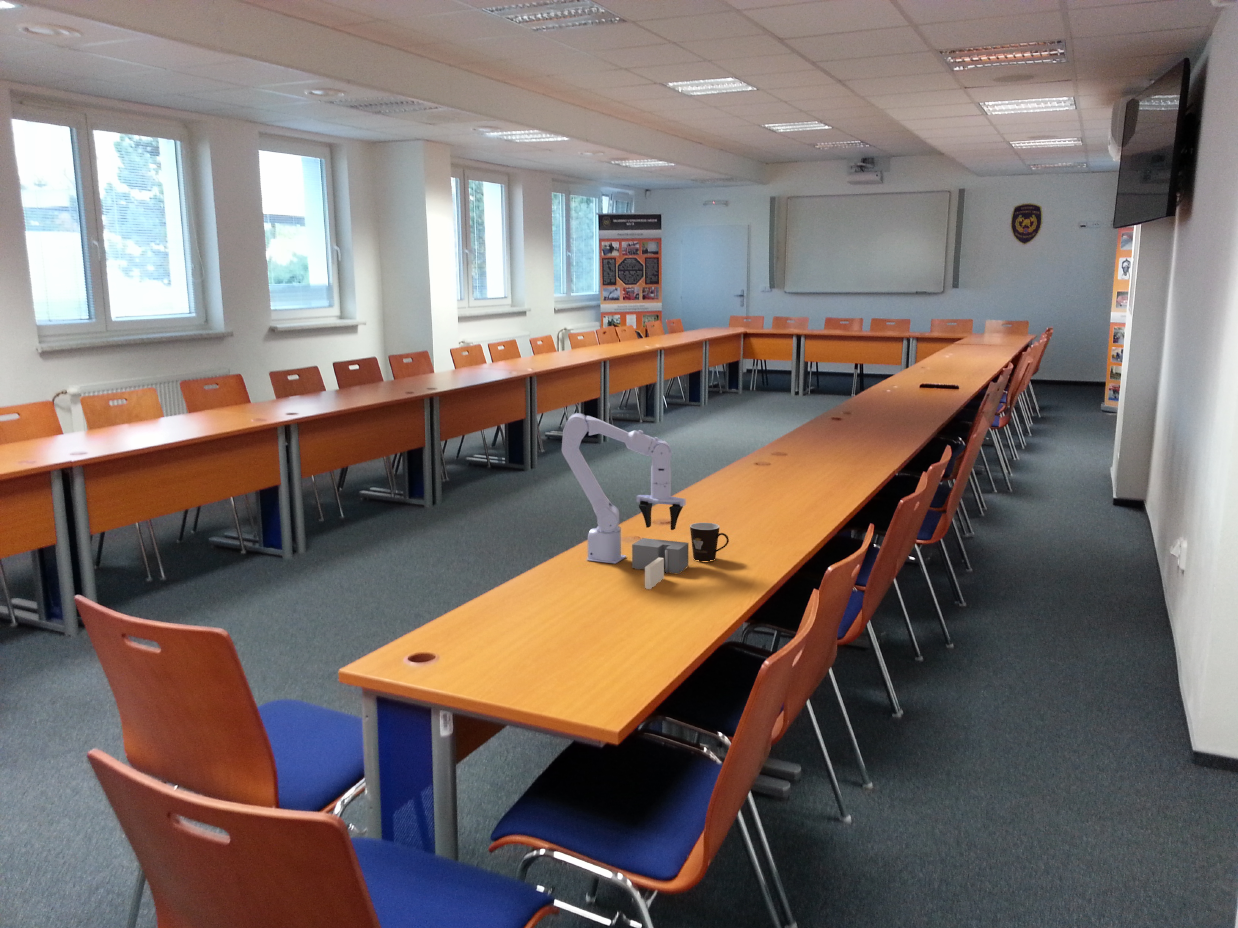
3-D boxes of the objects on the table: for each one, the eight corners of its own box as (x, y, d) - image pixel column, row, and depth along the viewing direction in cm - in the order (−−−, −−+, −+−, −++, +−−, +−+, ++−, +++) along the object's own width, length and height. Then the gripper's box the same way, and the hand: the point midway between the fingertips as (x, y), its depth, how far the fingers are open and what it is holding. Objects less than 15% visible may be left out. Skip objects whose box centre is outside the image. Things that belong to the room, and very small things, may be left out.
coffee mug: (684, 557, 274) (684, 524, 273) (708, 553, 278) (709, 521, 276) (705, 567, 264) (705, 533, 262) (730, 563, 268) (731, 529, 266)
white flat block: (644, 588, 245) (644, 566, 244) (658, 578, 254) (658, 557, 253) (650, 589, 245) (650, 567, 244) (663, 579, 254) (663, 557, 253)
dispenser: (631, 569, 263) (631, 545, 262) (642, 561, 271) (642, 537, 270) (677, 574, 257) (678, 550, 256) (688, 566, 265) (688, 542, 264)
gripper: (632, 483, 268) (632, 528, 270) (679, 486, 262) (679, 533, 265) (641, 478, 274) (641, 523, 277) (688, 482, 269) (687, 527, 271)
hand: (660, 528), depth 271 cm, fingers open, 7 cm apart
